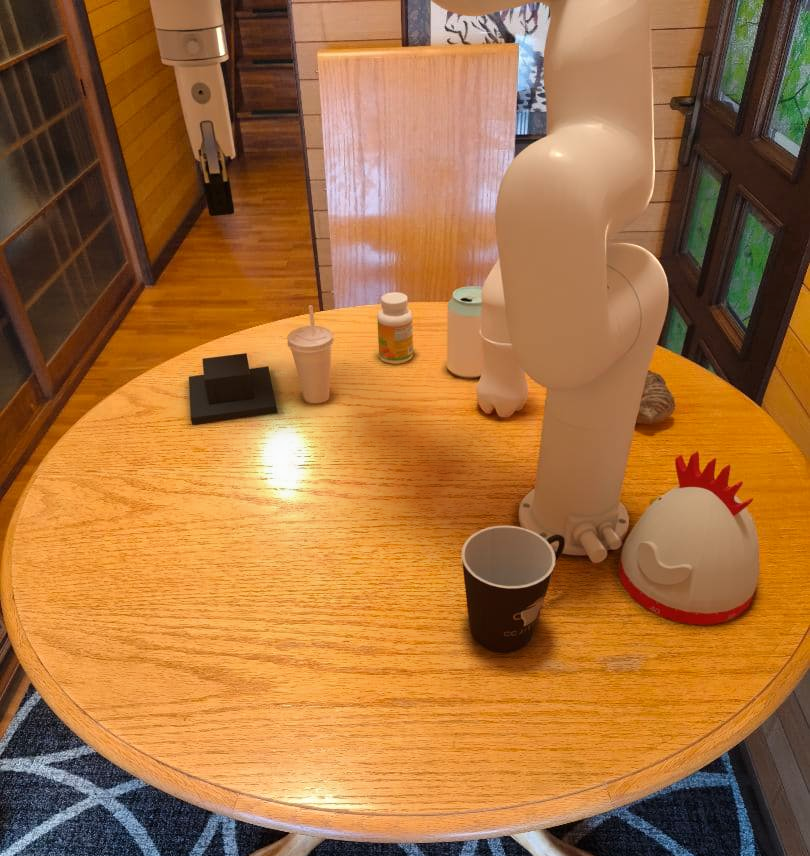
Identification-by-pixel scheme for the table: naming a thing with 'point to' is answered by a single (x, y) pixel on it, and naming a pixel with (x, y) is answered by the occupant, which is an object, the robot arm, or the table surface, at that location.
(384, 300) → the supplement bottle
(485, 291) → the water bottle
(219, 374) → the top pad
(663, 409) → the seashell
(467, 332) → the can
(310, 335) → the smoothie
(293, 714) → the table surface
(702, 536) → the kitchen timer
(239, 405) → the base pad
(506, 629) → the coffee mug
